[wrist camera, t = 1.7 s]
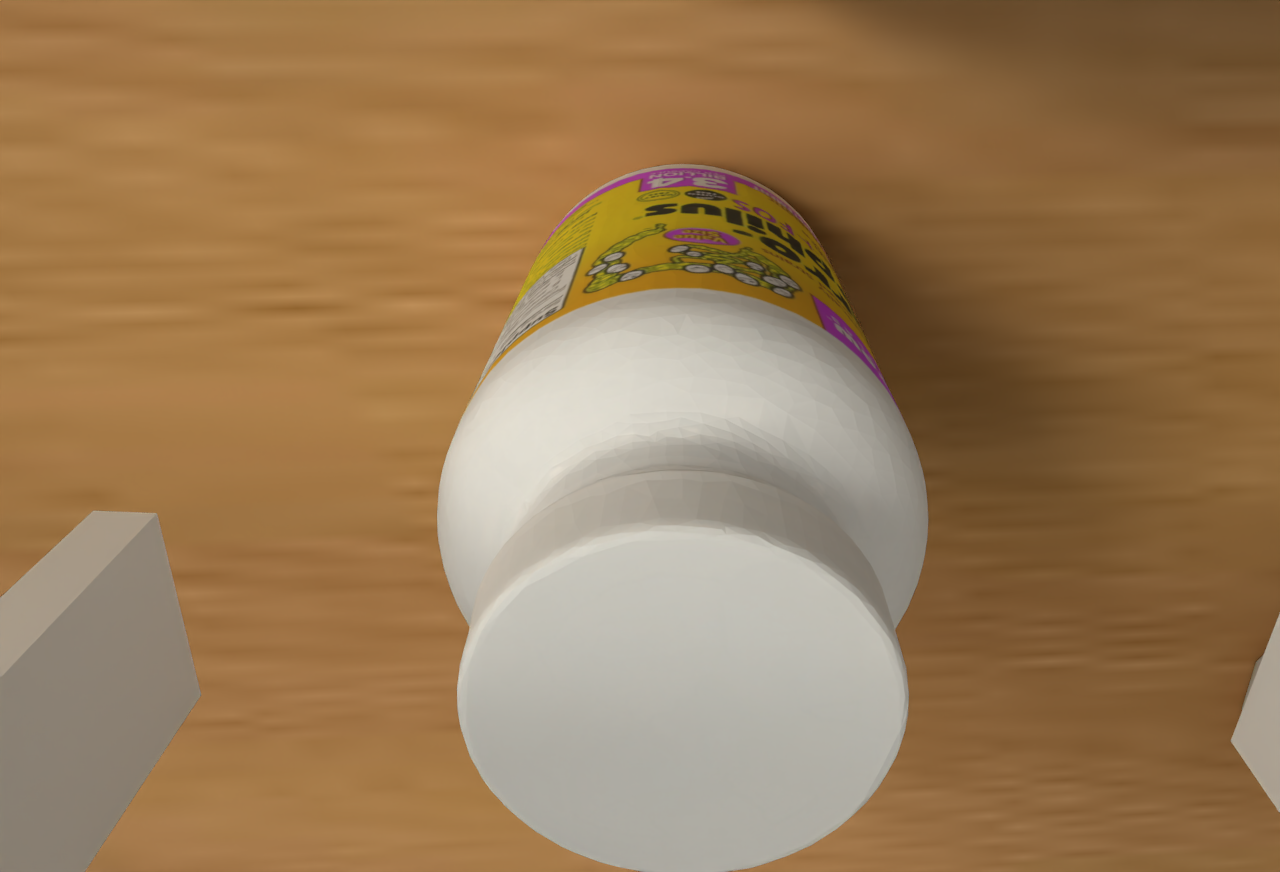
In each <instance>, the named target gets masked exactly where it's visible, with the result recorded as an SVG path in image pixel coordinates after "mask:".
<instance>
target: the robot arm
mask: <svg viewBox="0 0 1280 872" xmlns="http://www.w3.org/2000/svg"><path fill="white" fill-rule="evenodd" d="M200 696H201V692H200V688H199V684H198V680H197V676H196V671H195V667H194V663H193V659H192V655H191V651H190V647H189V643H188V639H187V634H186V630H185V626H184V622H183V618H182V614H181V610H180V606H179V602H178V597H177V593H176V589H175V585H174V581H173V577H172V573H171V569H170V565H169V560H168V556H167V552H166V548H165V544H164V540H163V536H162V532H161V528H160V523H159V519H158V515H157V513H140V512H113V511H92V512H91V513H90V514H89V515H88V516H87V517H86V518H85V519H84V520H83V521H82V522H81V523H79V524H78V525H77V526H76V527H75V528H74V529H73V530H72V531H71V532H70V533H69V534H68V535H67V536H66V537H64V538H63V539H62V540H61V541H60V542H59V543H58V544H57V545H56V546H55V547H54V548H53V549H52V550H51V551H50V552H48V553H47V554H46V555H45V556H44V557H43V558H42V559H41V560H40V561H39V562H38V563H37V564H36V565H35V566H33V567H32V568H31V569H30V570H29V571H28V572H27V573H26V574H25V575H24V576H23V577H22V578H21V579H20V580H19V581H17V582H16V583H15V584H14V585H13V586H12V587H11V588H10V589H9V590H8V591H7V592H6V593H5V594H4V595H2V596H1V597H0V872H85V871H86V869H87V868H88V866H89V865H90V863H91V862H92V860H93V858H94V857H95V855H96V854H97V852H98V851H99V849H100V848H101V846H102V845H103V843H104V842H105V840H106V839H107V837H108V836H109V834H110V833H111V831H112V830H113V828H114V827H115V825H116V824H117V822H118V821H119V819H120V818H121V816H122V814H123V813H124V811H125V810H126V808H127V807H128V805H129V804H130V802H131V801H132V799H133V798H134V796H135V795H136V793H137V792H138V790H139V789H140V787H141V786H142V784H143V783H144V781H145V780H146V778H147V777H148V775H149V774H150V772H151V770H152V769H153V767H154V766H155V764H156V763H157V761H158V760H159V758H160V757H161V755H162V754H163V752H164V751H165V749H166V748H167V746H168V745H169V743H170V742H171V740H172V739H173V737H174V736H175V734H176V733H177V731H178V729H179V728H180V726H181V725H182V723H183V722H184V720H185V719H186V717H187V716H188V714H189V713H190V711H191V710H192V708H193V707H194V705H195V704H196V702H197V701H198V699H199V698H200ZM1231 742H1232V744H1233V745H1234V747H1235V748H1236V750H1237V751H1238V753H1239V754H1240V756H1241V757H1242V758H1243V760H1244V761H1245V763H1246V764H1247V766H1248V767H1249V769H1250V770H1251V772H1252V773H1253V775H1254V776H1255V777H1256V779H1257V780H1258V782H1259V783H1260V785H1261V786H1262V788H1263V789H1264V791H1265V792H1266V794H1267V795H1268V797H1269V798H1270V799H1271V801H1272V802H1273V804H1274V805H1275V807H1276V808H1277V810H1278V811H1279V813H1280V614H1279V616H1278V619H1277V621H1276V624H1275V627H1274V629H1273V632H1272V634H1271V637H1270V640H1269V642H1268V645H1267V647H1266V650H1265V653H1264V655H1263V658H1262V660H1261V663H1260V666H1259V668H1258V671H1257V674H1256V676H1255V679H1254V681H1253V684H1252V687H1251V689H1250V692H1249V694H1248V697H1247V700H1246V702H1245V705H1244V707H1243V710H1242V713H1241V715H1240V718H1239V720H1238V723H1237V726H1236V728H1235V731H1234V734H1233V736H1232V739H1231Z"/></svg>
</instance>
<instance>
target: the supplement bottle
mask: <svg viewBox="0 0 1280 872" xmlns="http://www.w3.org/2000/svg"><path fill="white" fill-rule="evenodd" d="M437 526H438V540H439V546H440V551H441V556H442V561H443V567H444V570H445V573H446V576H447V579H448V582H449V585H450V588H451V591H452V594H453V596H454V598H455V601H456V603H457V605H458V607H459V609H460V611H461V613H462V615H463V616H464V618H465V620H466V622H467V623H468V625H469V627H470V628H469V633H468V637H467V640H466V644H465V647H464V651H463V655H462V659H461V663H460V670H459V678H458V685H457V709H458V715H459V721H460V727H461V730H462V733H463V736H464V739H465V743H466V746H467V749H468V752H469V755H470V757H471V759H472V761H473V762H474V764H475V766H476V768H477V769H478V771H479V773H480V775H481V777H482V779H483V780H484V782H485V783H486V784H487V786H488V787H489V788H490V790H491V791H492V792H493V793H494V794H495V795H496V796H497V798H498V799H499V800H500V801H501V802H502V803H503V804H504V805H505V806H506V807H507V808H508V809H509V810H510V811H511V812H512V813H513V814H515V815H516V816H517V817H518V818H519V819H520V820H522V821H523V822H524V823H525V824H527V825H528V826H529V827H531V828H532V829H533V830H534V831H536V832H538V833H539V834H541V835H543V836H544V837H546V838H548V839H549V840H551V841H553V842H555V843H556V844H558V845H560V846H561V847H563V848H566V849H568V850H570V851H572V852H575V853H577V854H579V855H582V856H585V857H587V858H590V859H593V860H596V861H598V862H601V863H605V864H609V865H613V866H617V867H621V868H626V869H632V870H637V871H642V872H727V871H734V870H741V869H747V868H753V867H756V866H759V865H763V864H766V863H768V862H771V861H774V860H777V859H780V858H783V857H786V856H788V855H790V854H793V853H795V852H797V851H799V850H802V849H804V848H806V847H808V846H811V845H812V844H814V843H815V842H817V841H819V840H820V839H822V838H823V837H825V836H826V835H828V834H830V833H831V832H833V831H834V830H836V829H837V828H838V827H840V826H841V825H842V824H843V823H845V822H846V821H847V820H848V819H850V818H851V817H852V816H853V815H854V814H855V813H856V812H857V811H858V810H859V809H860V808H861V807H862V806H863V805H864V804H865V803H866V802H867V801H868V800H869V799H870V797H871V796H872V795H873V794H874V792H875V791H876V790H877V789H878V787H879V786H880V784H881V783H882V781H883V779H884V777H885V776H886V774H887V772H888V771H889V769H890V767H891V765H892V764H893V762H894V760H895V758H896V756H897V753H898V751H899V748H900V745H901V742H902V739H903V736H904V733H905V728H906V722H907V717H908V703H909V690H908V681H907V672H906V666H905V662H904V659H903V655H902V652H901V648H900V645H899V642H898V638H897V635H896V631H895V629H896V627H897V626H898V624H899V622H900V620H901V619H902V617H903V615H904V613H905V612H906V610H907V608H908V606H909V603H910V601H911V599H912V596H913V594H914V591H915V589H916V587H917V584H918V580H919V577H920V573H921V570H922V566H923V562H924V557H925V551H926V544H927V537H928V502H927V493H926V485H925V479H924V474H923V470H922V467H921V463H920V460H919V456H918V453H917V450H916V447H915V445H914V442H913V440H912V437H911V434H910V432H909V430H908V428H907V426H906V424H905V421H904V419H903V417H902V415H901V413H900V410H899V408H898V406H897V404H896V402H895V400H894V398H893V396H892V394H891V392H890V390H889V388H888V386H887V384H886V382H885V380H884V378H883V375H882V373H881V371H880V369H879V367H878V365H877V362H876V360H875V358H874V356H873V354H872V351H871V349H870V347H869V345H868V342H867V339H866V338H865V336H864V334H863V332H862V329H861V327H860V325H859V323H858V321H857V319H856V317H855V315H854V313H853V310H852V308H851V306H850V304H849V302H848V299H847V297H846V295H845V293H844V291H843V289H842V287H841V285H840V283H839V280H838V278H837V276H836V274H835V272H834V270H833V268H832V266H831V263H830V261H829V259H828V257H827V255H826V253H825V251H824V249H823V248H822V246H821V244H820V242H819V241H818V239H817V237H816V236H815V234H814V233H813V231H812V230H811V228H810V227H809V225H808V224H807V223H806V222H805V220H804V219H803V218H802V217H801V215H800V214H799V213H798V212H797V211H796V210H795V209H794V208H793V207H792V206H791V205H789V204H788V203H787V202H786V201H785V200H784V199H783V198H781V197H780V196H779V195H777V194H776V193H774V192H773V191H772V190H770V189H769V188H767V187H765V186H763V185H762V184H760V183H758V182H756V181H754V180H752V179H750V178H748V177H746V176H743V175H740V174H738V173H735V172H732V171H729V170H725V169H722V168H717V167H713V166H706V165H695V164H669V165H661V166H656V167H650V168H645V169H642V170H638V171H635V172H631V173H628V174H626V175H623V176H621V177H619V178H616V179H614V180H612V181H610V182H608V183H606V184H604V185H602V186H601V187H599V188H598V189H596V190H595V191H593V192H592V193H590V194H589V195H588V196H586V197H585V198H584V199H582V200H581V201H580V202H579V203H578V204H577V205H576V206H575V207H573V208H572V209H571V210H570V211H569V212H568V214H567V215H566V216H565V217H564V218H563V219H562V221H561V222H560V223H559V224H558V225H557V226H556V228H555V229H554V231H553V232H552V234H551V235H550V237H549V238H548V240H547V241H546V243H545V244H544V246H543V248H542V250H541V251H540V253H539V255H538V256H537V258H536V260H535V262H534V264H533V266H532V268H531V270H530V272H529V274H528V276H527V278H526V281H525V283H524V285H523V287H522V289H521V291H520V293H519V296H518V298H517V300H516V302H515V304H514V306H513V308H512V310H511V313H510V315H509V317H508V319H507V321H506V323H505V325H504V328H503V330H502V332H501V334H500V337H499V339H498V341H497V343H496V345H495V347H494V349H493V352H492V354H491V356H490V358H489V360H488V362H487V364H486V367H485V369H484V371H483V373H482V375H481V378H480V380H479V382H478V384H477V386H476V388H475V390H474V392H473V394H472V396H471V398H470V400H469V402H468V404H467V407H466V409H465V411H464V413H463V415H462V417H461V420H460V422H459V425H458V427H457V430H456V432H455V435H454V437H453V440H452V442H451V445H450V448H449V450H448V453H447V456H446V459H445V462H444V466H443V469H442V475H441V480H440V485H439V496H438V509H437Z"/></svg>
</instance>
